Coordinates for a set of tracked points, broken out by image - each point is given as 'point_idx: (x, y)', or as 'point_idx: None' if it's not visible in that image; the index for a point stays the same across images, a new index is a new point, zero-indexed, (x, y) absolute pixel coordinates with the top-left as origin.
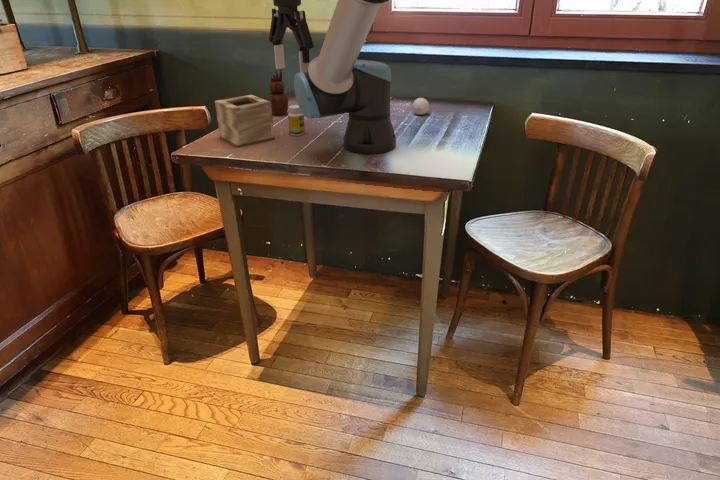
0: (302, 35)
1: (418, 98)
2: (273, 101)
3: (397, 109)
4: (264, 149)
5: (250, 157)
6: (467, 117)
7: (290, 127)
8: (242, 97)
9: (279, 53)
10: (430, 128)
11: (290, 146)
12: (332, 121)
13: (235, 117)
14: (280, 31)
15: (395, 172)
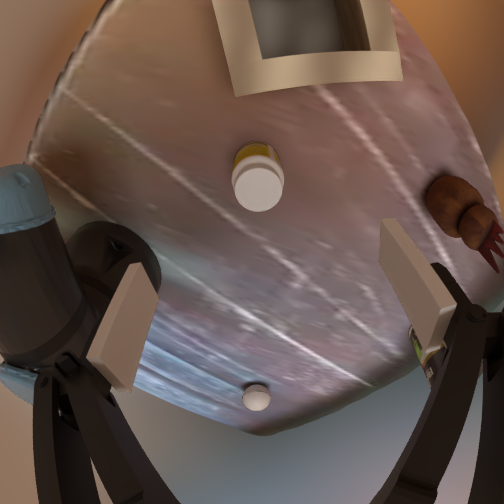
0: (35, 437)
1: (258, 407)
2: (453, 191)
3: (304, 376)
4: (165, 47)
5: (125, 12)
6: (210, 408)
7: (250, 147)
8: (376, 30)
9: (411, 292)
10: (177, 368)
11: (159, 113)
12: (309, 272)
13: None
14: (412, 442)
15: None
